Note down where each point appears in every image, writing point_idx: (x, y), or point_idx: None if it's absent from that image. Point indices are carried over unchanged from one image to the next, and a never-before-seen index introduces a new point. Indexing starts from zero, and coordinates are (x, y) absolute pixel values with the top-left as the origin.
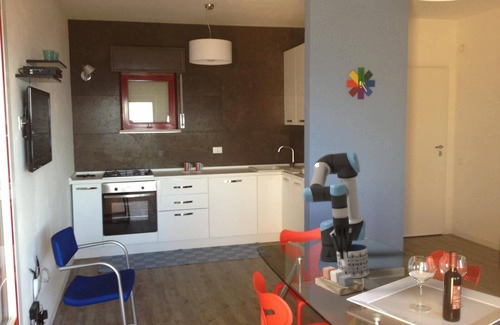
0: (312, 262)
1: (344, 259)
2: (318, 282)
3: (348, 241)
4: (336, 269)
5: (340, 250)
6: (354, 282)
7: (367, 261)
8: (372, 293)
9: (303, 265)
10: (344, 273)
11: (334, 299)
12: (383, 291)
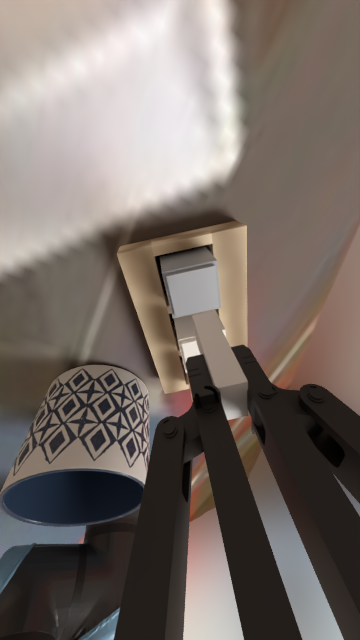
0: None
1: (226, 340)
2: None
3: (182, 545)
4: (188, 382)
5: (290, 407)
6: (146, 285)
7: (33, 422)
8: (93, 174)
9: (195, 467)
10: (178, 335)
11: (280, 185)
12: (29, 174)
